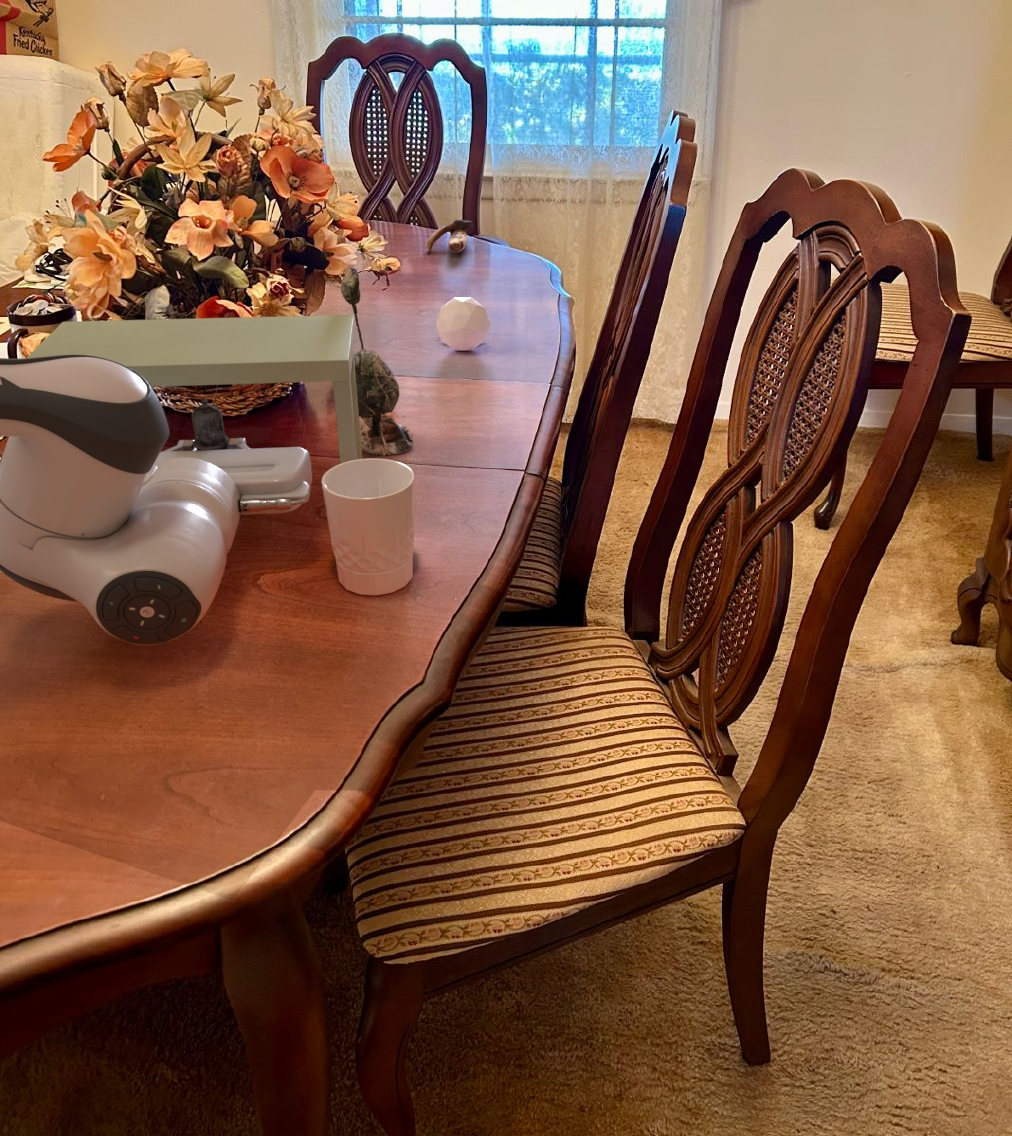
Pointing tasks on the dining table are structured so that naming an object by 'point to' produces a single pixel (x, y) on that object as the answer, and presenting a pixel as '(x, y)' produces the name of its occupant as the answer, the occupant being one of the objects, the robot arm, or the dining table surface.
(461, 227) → the lashed bone hook
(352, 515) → the white cup
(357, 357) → the plant with pod
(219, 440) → the salt shaker
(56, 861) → the dining table surface
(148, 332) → the side table
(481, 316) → the geometric ball
